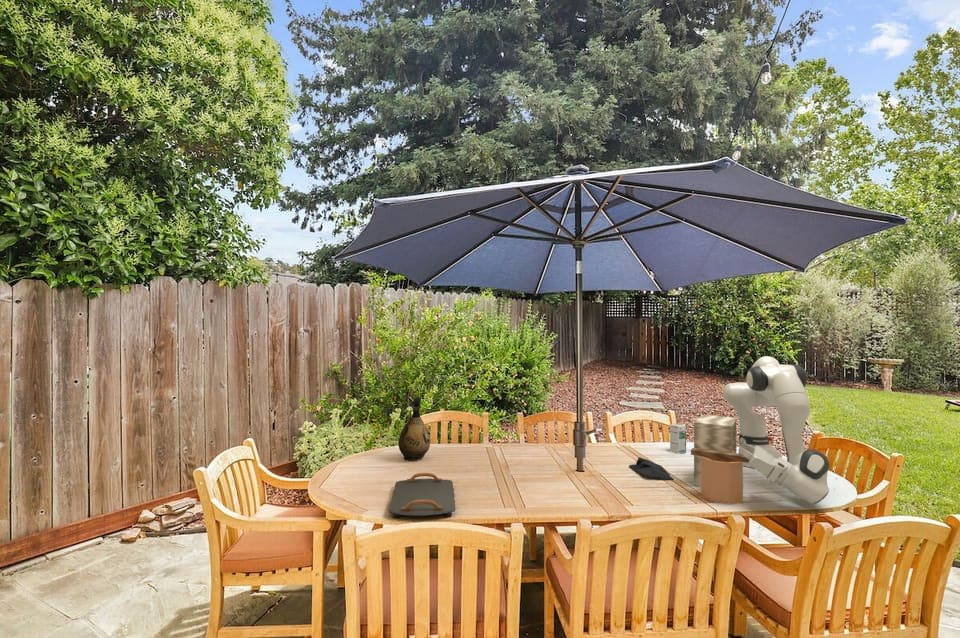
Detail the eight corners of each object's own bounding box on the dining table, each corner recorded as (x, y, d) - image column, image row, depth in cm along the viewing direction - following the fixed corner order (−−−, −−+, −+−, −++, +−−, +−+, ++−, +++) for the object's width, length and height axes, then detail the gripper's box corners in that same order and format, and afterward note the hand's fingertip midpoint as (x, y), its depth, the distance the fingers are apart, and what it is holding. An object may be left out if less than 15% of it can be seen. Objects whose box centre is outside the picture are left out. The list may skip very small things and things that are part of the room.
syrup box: (678, 454, 254) (678, 425, 254) (669, 451, 259) (669, 423, 260) (686, 452, 257) (686, 425, 257) (677, 450, 262) (677, 423, 262)
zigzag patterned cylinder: (736, 477, 215) (736, 417, 215) (731, 491, 196) (732, 426, 196) (701, 472, 222) (701, 414, 222) (693, 485, 203) (694, 422, 204)
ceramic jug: (428, 463, 233) (428, 399, 233) (395, 462, 233) (396, 399, 233) (432, 454, 250) (432, 394, 250) (401, 453, 250) (402, 394, 250)
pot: (724, 489, 198) (724, 452, 199) (751, 501, 185) (751, 461, 185) (694, 492, 195) (694, 454, 195) (719, 504, 181) (719, 463, 182)
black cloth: (639, 481, 210) (639, 469, 211) (627, 466, 232) (627, 456, 233) (676, 482, 210) (676, 470, 210) (660, 467, 231) (661, 457, 232)
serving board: (396, 485, 201) (396, 470, 201) (452, 484, 203) (452, 469, 203) (386, 523, 162) (386, 504, 162) (456, 522, 164) (456, 503, 165)
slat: (755, 461, 186) (755, 455, 186) (754, 463, 182) (754, 458, 183) (692, 452, 198) (692, 447, 198) (690, 454, 194) (690, 449, 194)
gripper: (782, 456, 189) (746, 434, 195) (782, 469, 171) (743, 444, 178) (772, 469, 190) (737, 447, 197) (771, 483, 173) (733, 458, 179)
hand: (740, 445), depth 187 cm, fingers open, 8 cm apart
